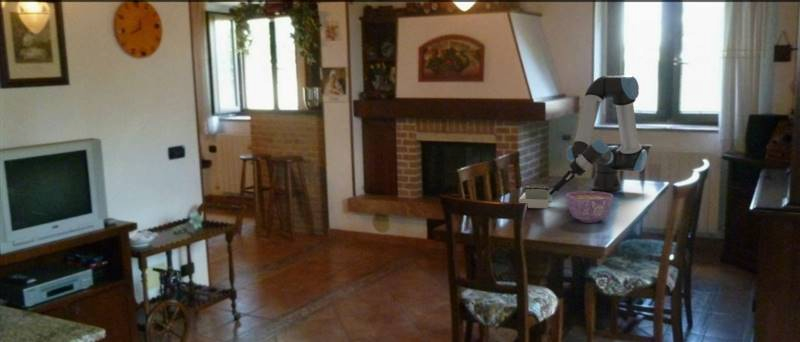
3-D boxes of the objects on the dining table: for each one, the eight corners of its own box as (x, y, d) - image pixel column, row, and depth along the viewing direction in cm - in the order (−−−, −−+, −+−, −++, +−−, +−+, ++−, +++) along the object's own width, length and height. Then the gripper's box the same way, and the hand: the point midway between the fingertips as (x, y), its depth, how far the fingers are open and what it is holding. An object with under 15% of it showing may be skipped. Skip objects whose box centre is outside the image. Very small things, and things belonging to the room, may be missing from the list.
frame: (551, 201, 375) (551, 193, 374) (548, 208, 358) (548, 200, 357) (524, 200, 379) (524, 192, 378) (519, 207, 362) (519, 199, 361)
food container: (550, 204, 367) (550, 184, 365) (549, 206, 361) (549, 186, 359) (524, 203, 370) (524, 183, 369) (523, 206, 364) (523, 186, 363)
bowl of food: (605, 227, 315) (605, 200, 313) (559, 223, 325) (559, 197, 323) (618, 218, 331) (619, 192, 330) (574, 214, 342) (575, 189, 340)
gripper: (576, 157, 366) (541, 190, 373) (573, 161, 354) (538, 195, 361) (587, 168, 365) (552, 201, 373) (585, 172, 353) (549, 206, 360)
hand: (545, 198), depth 367 cm, fingers closed
